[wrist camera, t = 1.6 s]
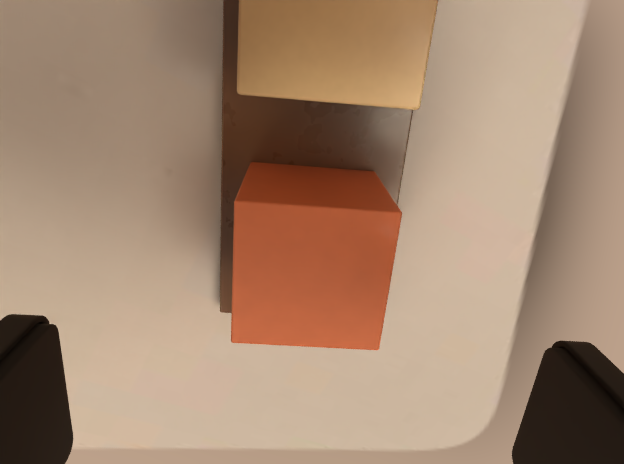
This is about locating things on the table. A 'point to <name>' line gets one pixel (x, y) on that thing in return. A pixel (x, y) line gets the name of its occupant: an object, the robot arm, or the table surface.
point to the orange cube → (312, 256)
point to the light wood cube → (335, 50)
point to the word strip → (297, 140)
